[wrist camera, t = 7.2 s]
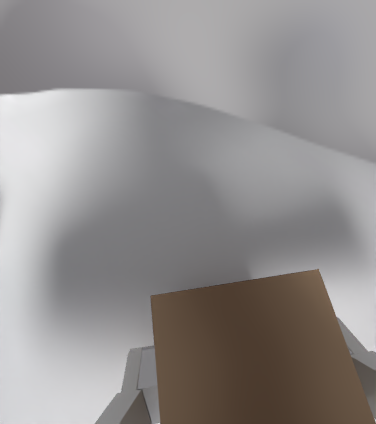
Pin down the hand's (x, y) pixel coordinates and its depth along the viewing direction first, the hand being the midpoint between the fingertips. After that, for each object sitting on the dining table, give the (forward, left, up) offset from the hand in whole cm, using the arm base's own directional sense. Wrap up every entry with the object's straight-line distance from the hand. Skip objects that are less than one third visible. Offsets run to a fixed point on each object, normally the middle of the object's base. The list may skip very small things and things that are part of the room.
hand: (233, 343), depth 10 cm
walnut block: (0, +1, -4) cm, 4 cm away
